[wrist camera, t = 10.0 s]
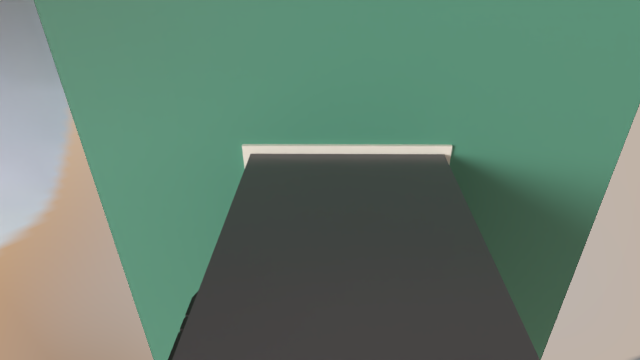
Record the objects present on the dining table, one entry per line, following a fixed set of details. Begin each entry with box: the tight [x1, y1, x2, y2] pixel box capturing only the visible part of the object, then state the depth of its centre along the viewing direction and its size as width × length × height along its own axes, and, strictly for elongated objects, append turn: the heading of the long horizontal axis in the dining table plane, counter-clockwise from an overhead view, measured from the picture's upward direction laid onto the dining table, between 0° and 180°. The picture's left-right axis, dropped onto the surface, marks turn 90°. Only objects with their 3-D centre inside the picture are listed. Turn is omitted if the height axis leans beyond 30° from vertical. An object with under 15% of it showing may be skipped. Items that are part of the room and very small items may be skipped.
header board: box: [34, 0, 640, 360], centre depth 12 cm, size 16×14×4 cm
